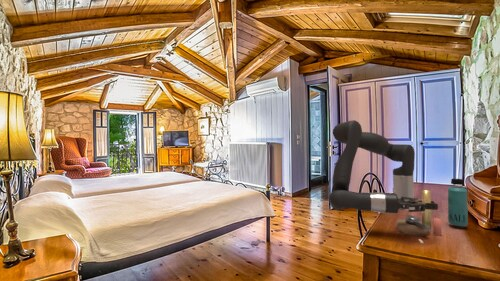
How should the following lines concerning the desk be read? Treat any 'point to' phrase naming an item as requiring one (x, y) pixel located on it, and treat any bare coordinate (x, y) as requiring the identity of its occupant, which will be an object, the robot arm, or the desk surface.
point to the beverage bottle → (457, 204)
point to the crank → (425, 214)
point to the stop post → (437, 226)
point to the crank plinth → (411, 228)
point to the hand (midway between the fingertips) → (435, 205)
